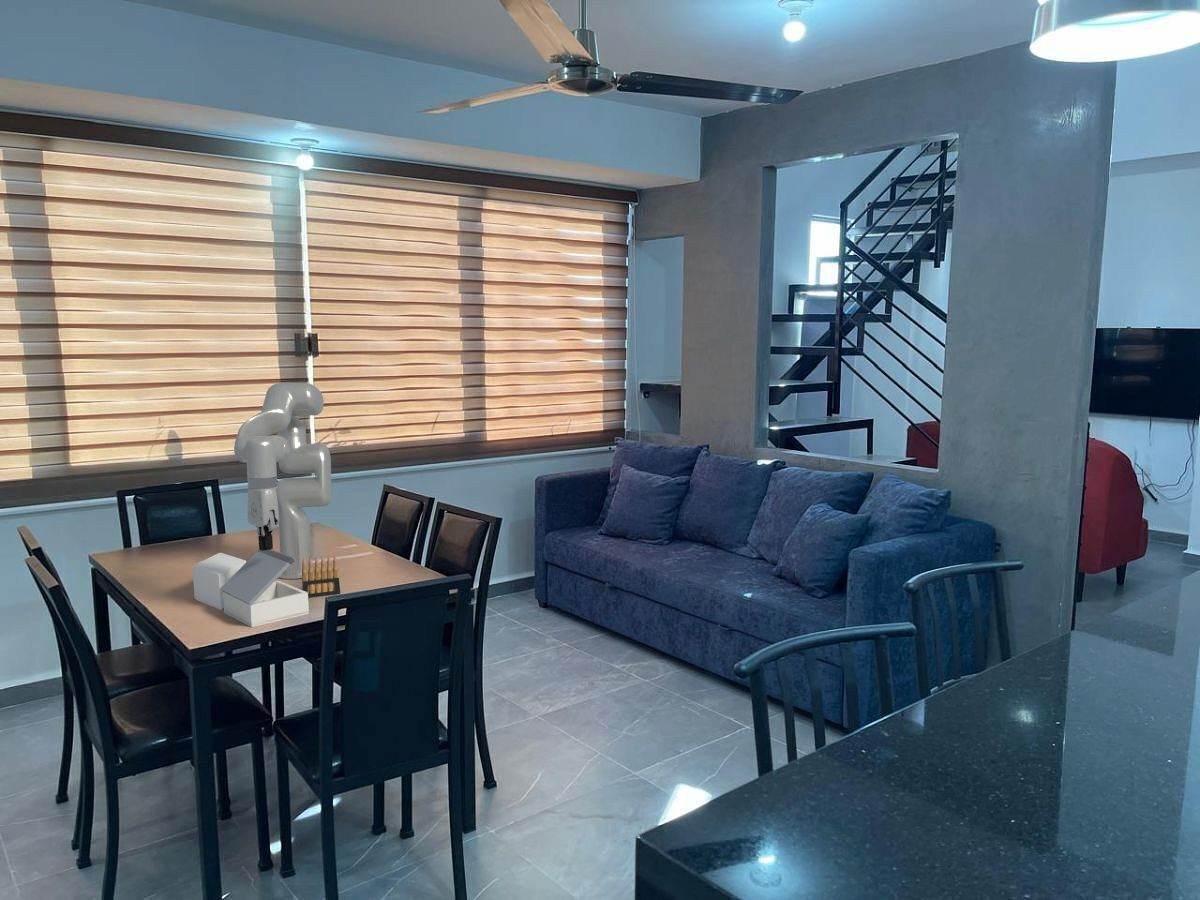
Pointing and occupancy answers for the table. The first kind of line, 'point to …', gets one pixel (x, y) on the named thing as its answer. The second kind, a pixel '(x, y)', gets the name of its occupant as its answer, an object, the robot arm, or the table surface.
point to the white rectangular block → (214, 578)
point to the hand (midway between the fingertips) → (266, 549)
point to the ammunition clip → (320, 578)
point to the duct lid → (257, 575)
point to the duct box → (269, 605)
